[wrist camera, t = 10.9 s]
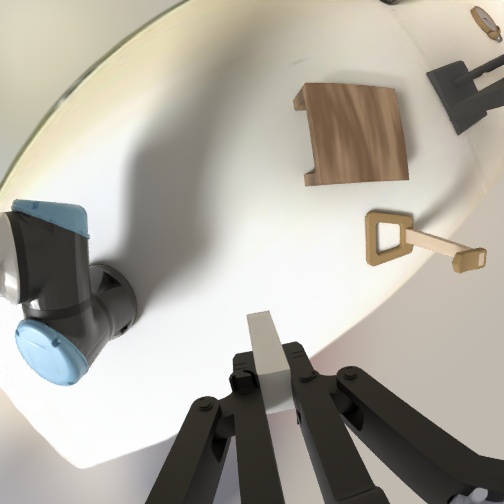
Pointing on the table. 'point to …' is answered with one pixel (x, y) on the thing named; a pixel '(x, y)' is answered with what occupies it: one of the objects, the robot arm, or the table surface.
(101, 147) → the table surface
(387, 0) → the supplement bottle
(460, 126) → the computer monitor
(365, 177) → the stool
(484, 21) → the alarm clock
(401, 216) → the headphone stand
